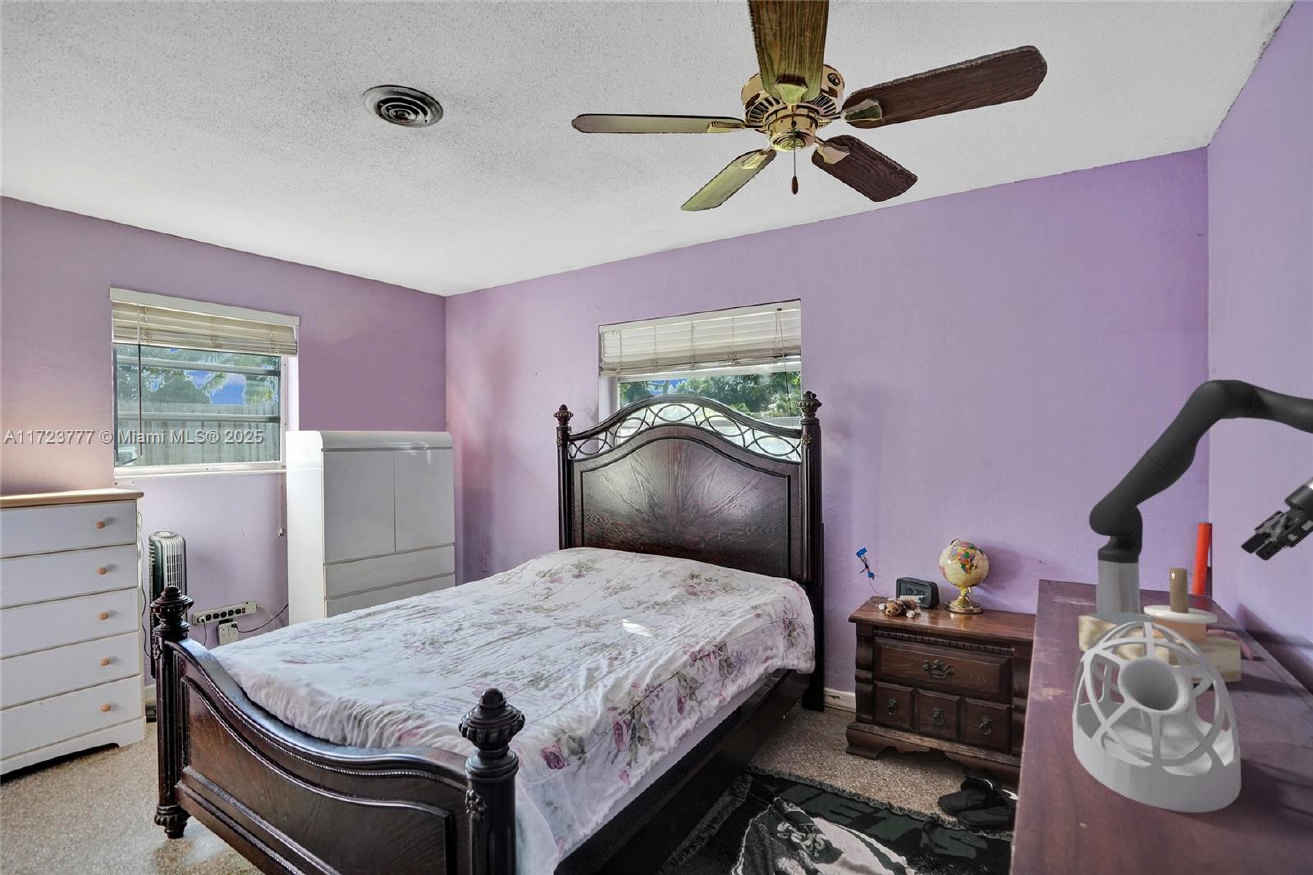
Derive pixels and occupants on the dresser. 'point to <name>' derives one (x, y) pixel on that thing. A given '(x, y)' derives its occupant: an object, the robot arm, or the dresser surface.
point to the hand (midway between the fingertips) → (1252, 553)
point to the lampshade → (1156, 725)
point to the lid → (1179, 603)
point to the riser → (1215, 648)
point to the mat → (1121, 618)
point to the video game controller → (1232, 635)
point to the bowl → (1183, 629)
